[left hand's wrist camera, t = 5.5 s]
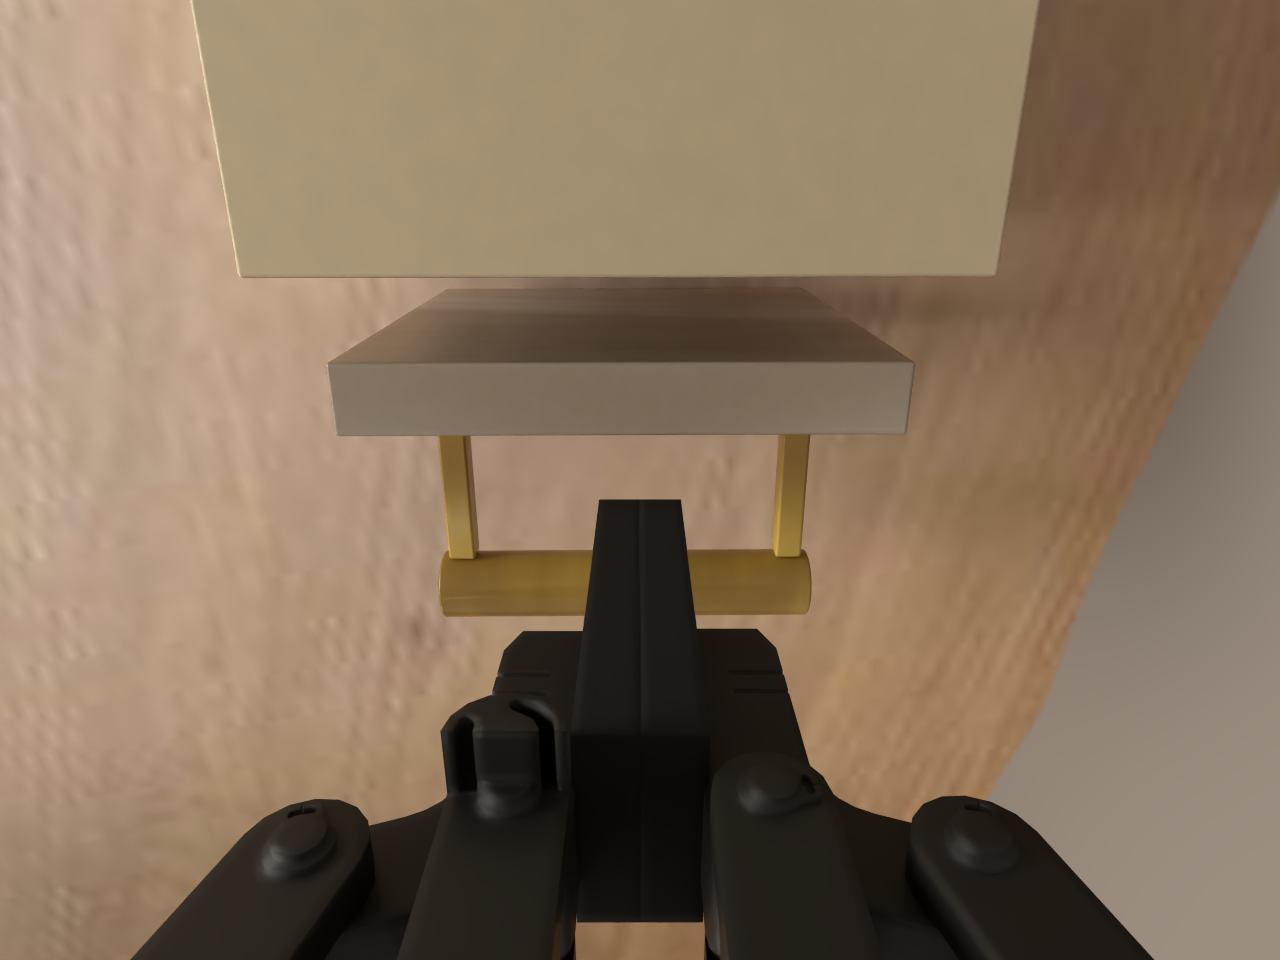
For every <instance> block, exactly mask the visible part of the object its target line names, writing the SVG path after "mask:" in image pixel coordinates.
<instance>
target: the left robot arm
mask: <svg viewBox="0 0 1280 960" xmlns="http://www.w3.org/2000/svg"><path fill="white" fill-rule="evenodd" d="M782 671H783V670H782V667H781V663H780V660H779V656H778V653H777V649H776V647H775V646H774V645H773V644H772V643H771V642H770V641H769V640H768V639H767V638H766V637H765V636H764V635H763V634H762V633H761V632H760V631H759V630H758V629H697V626H696V618H695V610H694V602H693V594H692V586H691V578H690V570H689V562H688V554H687V546H686V538H685V530H684V522H683V514H682V506H681V500H599V506H598V514H597V522H596V530H595V538H594V546H593V554H592V562H591V570H590V578H589V586H588V594H587V602H586V610H585V618H584V626H583V631H523V632H522V633H521V634H520V635H519V636H518V637H517V638H516V639H515V640H514V641H513V642H512V643H511V644H510V645H509V646H508V647H507V648H506V649H505V650H504V652H503V656H502V659H501V663H500V666H499V670H498V677H496V680H495V684H494V688H493V691H492V695H490V696H487V697H484V698H481V699H479V700H476V701H473V702H471V703H468V704H467V705H465V706H464V707H462V708H461V709H460V710H458V711H457V712H455V713H454V714H453V715H451V716H450V718H449V719H448V721H447V722H446V724H445V725H444V727H443V728H442V730H441V740H442V749H443V758H444V767H445V776H446V785H447V797H446V798H445V799H444V800H443V801H441V802H440V803H438V804H436V805H434V806H432V807H430V808H428V809H426V810H424V811H421V812H418V813H415V814H412V815H409V816H407V817H403V818H399V819H395V820H391V821H387V822H383V823H379V824H375V825H371V826H369V824H368V820H367V819H366V818H365V816H364V815H363V814H362V813H361V811H360V810H359V809H358V808H357V807H355V806H353V805H350V804H348V803H346V802H343V801H341V800H330V799H313V800H309V801H305V802H301V803H296V804H292V805H289V806H287V807H285V808H283V809H281V810H279V811H277V812H275V813H273V814H271V815H269V816H267V817H265V818H263V819H262V820H261V821H260V822H259V823H257V824H256V825H255V826H254V827H253V828H251V829H250V830H249V831H248V832H247V833H245V834H244V835H243V836H242V837H241V839H240V840H239V841H238V842H237V843H236V844H235V845H234V846H233V847H232V848H231V850H230V851H229V852H228V853H227V854H226V855H225V856H224V857H223V858H222V859H221V861H220V862H219V863H218V864H217V865H216V866H215V867H214V868H213V869H212V870H211V872H210V873H209V874H208V875H207V876H206V877H205V878H204V879H203V880H202V881H201V883H200V884H199V885H198V886H197V887H196V888H195V889H194V890H193V891H192V892H191V894H190V895H189V896H188V897H187V898H186V899H185V900H184V901H183V902H182V903H181V905H180V906H179V907H178V908H177V909H176V910H175V911H174V912H173V913H172V915H171V916H170V917H169V918H168V919H167V920H166V921H165V922H164V923H163V924H162V926H161V927H160V928H159V929H158V930H157V931H156V932H155V933H154V934H153V935H152V937H151V938H150V939H149V940H148V941H147V942H146V943H145V944H144V945H143V946H142V948H141V949H140V950H139V951H138V952H137V953H136V954H135V955H134V956H133V957H132V959H131V960H576V948H575V928H576V916H577V922H703V912H704V924H705V948H704V960H1154V959H1153V958H1152V957H1151V956H1150V955H1149V954H1148V952H1147V951H1146V950H1145V949H1144V948H1143V947H1142V946H1141V945H1140V944H1139V943H1138V942H1137V940H1136V939H1135V938H1134V937H1133V936H1132V935H1131V934H1130V933H1129V932H1128V931H1127V929H1126V928H1125V927H1124V926H1123V925H1122V924H1121V923H1120V922H1119V921H1118V920H1117V919H1116V917H1115V916H1114V915H1113V914H1112V913H1111V912H1110V911H1109V910H1108V909H1107V908H1106V907H1105V905H1104V904H1103V903H1102V902H1101V901H1100V900H1099V899H1098V898H1097V897H1096V896H1095V895H1094V893H1093V892H1092V891H1091V890H1090V889H1089V888H1088V887H1087V886H1086V885H1085V884H1084V882H1083V881H1082V880H1081V879H1080V878H1079V877H1078V876H1077V875H1076V874H1075V873H1074V872H1073V870H1072V869H1071V868H1070V867H1069V866H1068V865H1067V864H1066V863H1065V862H1064V861H1063V860H1062V858H1061V857H1060V856H1059V855H1058V854H1057V853H1056V852H1055V851H1054V850H1053V849H1052V847H1051V846H1050V845H1049V844H1048V843H1047V842H1046V841H1045V840H1044V839H1043V838H1042V837H1041V835H1040V834H1039V833H1038V832H1037V831H1036V830H1034V829H1033V828H1032V827H1031V826H1030V825H1028V824H1027V823H1026V822H1025V821H1024V820H1022V819H1021V818H1020V817H1019V816H1018V815H1016V814H1015V813H1013V812H1011V811H1009V810H1007V809H1004V808H1002V807H1000V806H998V805H996V804H994V803H992V802H989V801H985V800H981V799H977V798H972V797H968V796H943V797H939V798H937V799H934V800H932V801H929V802H927V803H925V804H923V805H922V806H921V808H920V809H919V810H918V811H917V813H916V814H915V815H914V816H913V818H912V823H910V822H906V821H902V820H898V819H894V818H890V817H886V816H882V815H878V814H874V813H871V812H868V811H865V810H862V809H859V808H856V807H854V806H852V805H850V804H848V803H846V802H845V801H843V800H841V799H839V798H837V797H836V796H835V795H834V794H833V793H832V791H831V789H830V787H829V786H828V784H827V782H826V780H825V779H824V777H823V776H822V775H821V774H820V773H818V772H817V771H816V770H815V769H813V768H812V767H811V766H810V764H809V761H808V758H807V754H806V751H805V747H804V744H803V740H802V737H801V733H800V730H799V726H798V723H797V719H796V716H795V712H794V709H793V705H792V702H791V698H790V695H789V694H788V688H787V684H786V681H785V677H784V675H783V672H782Z"/></svg>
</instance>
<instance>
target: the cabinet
mask: <svg viewBox="0 0 1280 960" xmlns="http://www.w3.org/2000/svg"><path fill="white" fill-rule="evenodd" d="M190 2H191V7H192V13H193V19H194V24H195V30H196V36H197V42H198V47H199V53H200V59H201V64H202V70H203V76H204V81H205V87H206V93H207V99H208V104H209V110H210V116H211V121H212V127H213V133H214V138H215V144H216V150H217V155H218V161H219V167H220V173H221V178H222V184H223V190H224V195H225V201H226V207H227V212H228V218H229V224H230V230H231V235H232V241H233V247H234V252H235V258H236V264H237V269H238V274H239V276H240V277H243V278H592V277H994V276H996V275H997V273H998V268H999V261H1000V255H1001V248H1002V242H1003V236H1004V229H1005V223H1006V216H1007V210H1008V204H1009V197H1010V191H1011V184H1012V178H1013V172H1014V165H1015V159H1016V152H1017V146H1018V140H1019V133H1020V127H1021V120H1022V114H1023V108H1024V101H1025V95H1026V88H1027V82H1028V76H1029V69H1030V63H1031V56H1032V50H1033V44H1034V37H1035V31H1036V24H1037V18H1038V12H1039V5H1040V0H190Z"/></svg>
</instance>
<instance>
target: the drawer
mask: <svg viewBox="0 0 1280 960" xmlns="http://www.w3.org/2000/svg"><path fill="white" fill-rule="evenodd" d="M914 369H915V363H914V362H913V361H912V360H910V359H909V358H907V357H906V356H904V355H903V354H901V353H900V352H898V351H897V350H895V349H894V348H892V347H891V346H889V345H887V344H886V343H884V342H883V341H881V340H880V339H878V338H877V337H875V336H874V335H872V334H871V333H869V332H868V331H866V330H865V329H863V328H862V327H860V326H859V325H857V324H855V323H854V322H852V321H851V320H849V319H848V318H846V317H845V316H843V315H842V314H840V313H839V312H837V311H836V310H834V309H833V308H831V307H830V306H828V305H827V304H825V303H823V302H822V301H820V300H819V299H817V298H816V297H814V296H813V295H811V294H810V293H808V292H807V291H805V290H804V289H802V288H764V289H447V290H445V291H443V292H442V293H440V294H438V295H437V296H435V297H433V298H432V299H430V300H429V301H427V302H425V303H424V304H422V305H421V306H419V307H417V308H416V309H414V310H412V311H411V312H409V313H408V314H406V315H404V316H403V317H401V318H400V319H398V320H396V321H395V322H393V323H391V324H390V325H388V326H387V327H385V328H383V329H382V330H380V331H378V332H377V333H375V334H374V335H372V336H370V337H369V338H367V339H366V340H364V341H362V342H361V343H359V344H357V345H356V346H354V347H353V348H351V349H349V350H348V351H346V352H345V353H343V354H341V355H340V356H338V357H336V358H335V359H333V360H332V361H330V362H328V363H327V364H326V370H327V377H328V384H329V391H330V398H331V405H332V412H333V419H334V426H335V433H336V435H338V436H438V442H439V453H440V463H441V474H442V484H443V495H444V506H445V516H446V527H447V537H448V548H449V551H447V552H445V554H444V556H443V558H442V561H441V566H440V572H439V601H440V607H441V610H442V613H443V615H444V616H447V617H457V616H585V610H586V602H587V594H588V586H589V578H590V570H591V562H592V554H593V550H527V551H478V549H479V539H478V526H477V514H476V501H475V489H474V476H473V464H472V451H471V439H470V436H489V435H778V434H779V439H778V455H777V470H776V485H775V501H774V516H773V531H772V548H773V549H727V550H687V554H688V562H689V570H690V578H691V586H692V594H693V602H694V610H695V615H798V614H806V613H807V612H808V610H809V606H810V601H811V570H810V563H809V559H808V556H807V553H806V551H805V550H803V549H801V544H802V532H803V519H804V507H805V494H806V482H807V469H808V457H809V444H810V434H905V433H906V431H907V425H908V417H909V409H910V401H911V393H912V385H913V377H914Z"/></svg>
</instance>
